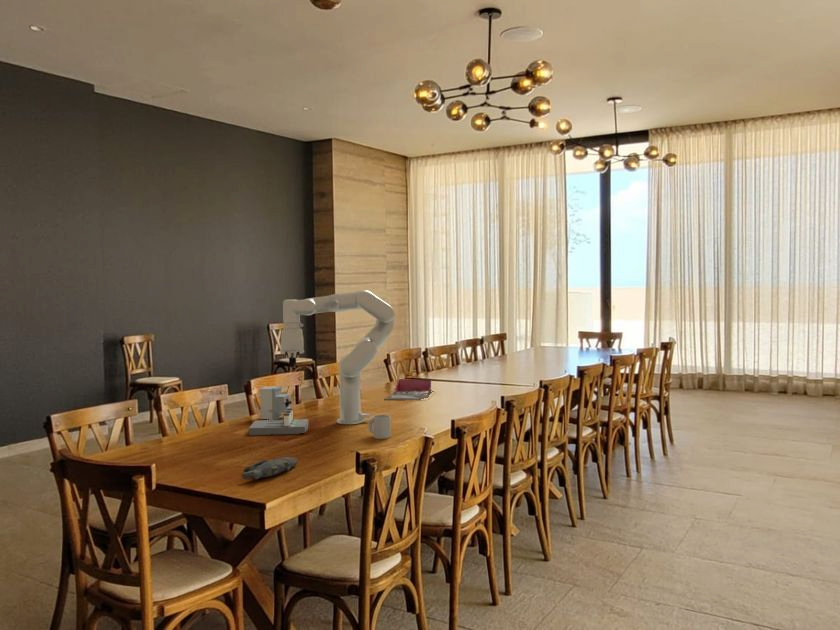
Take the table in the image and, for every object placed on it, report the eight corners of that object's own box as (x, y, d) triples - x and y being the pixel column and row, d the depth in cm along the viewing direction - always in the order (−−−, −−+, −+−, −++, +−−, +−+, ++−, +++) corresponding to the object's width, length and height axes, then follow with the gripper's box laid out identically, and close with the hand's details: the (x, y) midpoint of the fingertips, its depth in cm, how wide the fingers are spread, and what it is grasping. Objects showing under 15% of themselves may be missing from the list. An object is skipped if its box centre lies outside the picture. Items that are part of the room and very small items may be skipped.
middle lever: (291, 422, 312) (291, 410, 312) (290, 423, 310) (290, 411, 309) (286, 422, 312) (286, 410, 312) (285, 423, 309) (285, 411, 309)
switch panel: (308, 425, 320) (308, 418, 320) (305, 433, 303) (304, 426, 303) (255, 427, 318) (255, 420, 318) (248, 435, 301) (248, 428, 301)
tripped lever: (289, 424, 306) (289, 412, 306) (289, 425, 304) (288, 413, 303) (284, 424, 306) (284, 412, 306) (284, 426, 303) (283, 413, 303)
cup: (385, 439, 289) (385, 418, 289) (364, 437, 294) (364, 416, 293) (393, 436, 296) (393, 415, 295) (372, 434, 300) (372, 413, 300)
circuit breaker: (287, 420, 333) (287, 389, 332) (259, 419, 336) (259, 388, 335) (293, 417, 340) (292, 386, 340) (266, 416, 343) (265, 386, 343)
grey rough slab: (303, 452, 249) (270, 453, 255) (258, 468, 226) (222, 468, 233) (305, 466, 248) (271, 467, 255) (260, 483, 226) (224, 484, 233)
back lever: (292, 419, 318) (292, 407, 318) (292, 420, 316) (291, 408, 315) (288, 419, 318) (287, 407, 318) (287, 420, 315) (287, 408, 315)
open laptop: (437, 392, 417) (437, 378, 416) (426, 402, 382) (426, 387, 382) (397, 391, 421) (397, 377, 421) (383, 401, 387) (383, 386, 386)
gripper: (308, 325, 325) (309, 364, 326) (276, 326, 324) (277, 365, 325) (307, 326, 318) (308, 366, 318) (274, 327, 317) (275, 367, 317)
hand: (292, 366), depth 322 cm, fingers closed
